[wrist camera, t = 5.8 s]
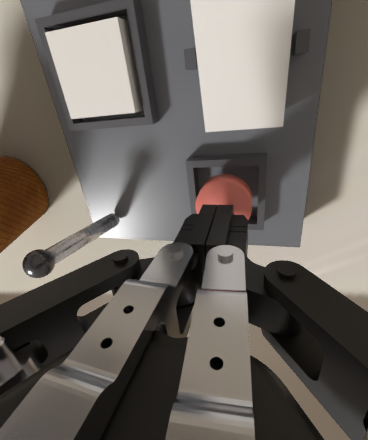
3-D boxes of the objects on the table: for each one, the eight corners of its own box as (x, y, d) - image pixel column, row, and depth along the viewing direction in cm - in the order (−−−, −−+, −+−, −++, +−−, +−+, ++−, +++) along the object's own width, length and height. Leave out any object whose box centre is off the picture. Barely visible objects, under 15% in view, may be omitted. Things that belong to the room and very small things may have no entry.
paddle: (60, 35, 13) (44, 32, 12) (128, 21, 12) (117, 16, 11) (83, 116, 15) (71, 119, 14) (144, 110, 14) (135, 112, 13)
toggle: (107, 205, 19) (12, 256, 14) (122, 209, 18) (26, 264, 13) (112, 224, 19) (24, 278, 15) (127, 228, 18) (38, 287, 14)
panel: (51, -13, 15) (-15, -41, 12) (329, -89, 11) (364, -170, 7) (115, 219, 23) (87, 247, 19) (294, 224, 19) (303, 260, 15)
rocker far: (194, -38, 10) (185, -39, 8) (296, -64, 9) (301, -70, 8) (210, 119, 14) (205, 132, 12) (281, 113, 13) (283, 126, 12)
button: (197, 174, 14) (192, 182, 13) (252, 173, 13) (252, 181, 12) (201, 220, 16) (197, 231, 15) (251, 222, 15) (251, 233, 14)
